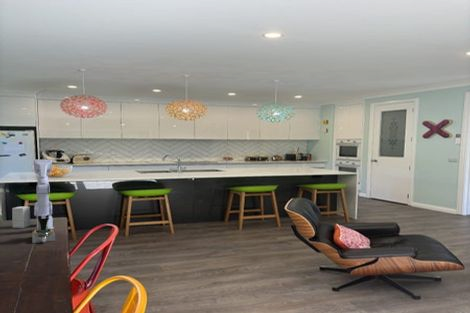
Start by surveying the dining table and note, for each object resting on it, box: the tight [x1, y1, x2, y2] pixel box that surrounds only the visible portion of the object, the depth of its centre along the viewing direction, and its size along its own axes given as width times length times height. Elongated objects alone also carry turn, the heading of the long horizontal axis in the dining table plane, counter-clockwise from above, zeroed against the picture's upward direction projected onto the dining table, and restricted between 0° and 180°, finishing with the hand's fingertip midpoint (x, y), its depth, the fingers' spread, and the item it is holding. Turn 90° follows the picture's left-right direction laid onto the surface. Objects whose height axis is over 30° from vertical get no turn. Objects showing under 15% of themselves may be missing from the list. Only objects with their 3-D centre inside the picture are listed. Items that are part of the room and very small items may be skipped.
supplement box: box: [11, 206, 31, 229], centre depth 236 cm, size 7×7×13 cm
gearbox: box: [31, 228, 56, 244], centre depth 204 cm, size 20×11×4 cm, turn 29°
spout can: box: [38, 221, 48, 233], centre depth 208 cm, size 5×5×8 cm
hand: (43, 229), depth 208 cm, fingers closed on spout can, 5 cm apart
